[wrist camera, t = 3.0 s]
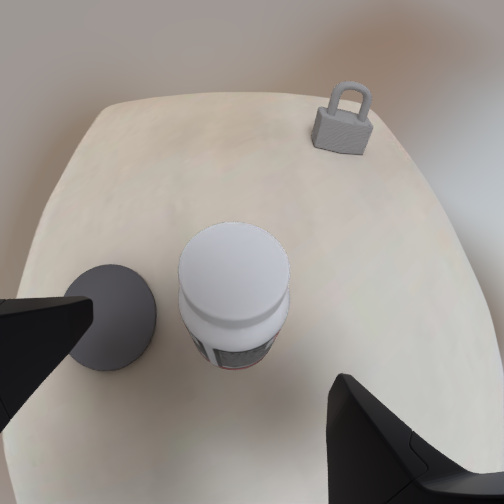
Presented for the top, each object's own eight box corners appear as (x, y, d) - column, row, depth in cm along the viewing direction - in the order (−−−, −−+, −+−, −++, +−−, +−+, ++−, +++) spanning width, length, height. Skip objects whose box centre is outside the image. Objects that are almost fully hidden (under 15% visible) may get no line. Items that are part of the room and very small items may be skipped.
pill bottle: (282, 314, 20) (318, 238, 12) (255, 382, 17) (279, 357, 9) (213, 287, 21) (204, 198, 13) (181, 351, 18) (141, 297, 10)
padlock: (356, 142, 35) (376, 83, 27) (363, 158, 33) (388, 96, 25) (310, 134, 35) (325, 71, 26) (314, 150, 33) (332, 81, 24)
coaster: (126, 392, 16) (123, 391, 15) (46, 337, 17) (43, 334, 17) (175, 290, 21) (174, 287, 20) (94, 254, 22) (91, 251, 21)
